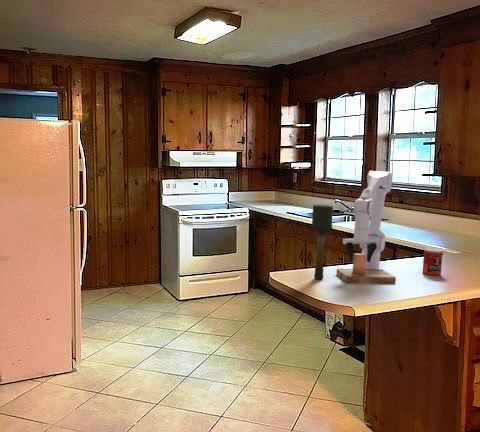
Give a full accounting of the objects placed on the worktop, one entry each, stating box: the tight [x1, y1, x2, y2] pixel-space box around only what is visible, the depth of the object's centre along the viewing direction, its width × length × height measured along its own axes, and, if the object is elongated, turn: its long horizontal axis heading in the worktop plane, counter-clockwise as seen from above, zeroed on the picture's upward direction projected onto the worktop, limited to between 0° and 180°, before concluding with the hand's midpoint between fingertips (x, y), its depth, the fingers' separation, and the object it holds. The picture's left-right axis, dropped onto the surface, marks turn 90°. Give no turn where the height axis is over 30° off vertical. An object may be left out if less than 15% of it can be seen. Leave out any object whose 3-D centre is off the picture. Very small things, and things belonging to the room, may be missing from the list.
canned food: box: [422, 247, 444, 277], centre depth 230 cm, size 8×8×11 cm
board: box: [336, 268, 397, 284], centre depth 216 cm, size 14×20×2 cm
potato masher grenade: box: [310, 204, 334, 281], centre depth 211 cm, size 8×9×30 cm
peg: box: [352, 252, 366, 274], centre depth 215 cm, size 5×5×10 cm
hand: (359, 261), depth 215 cm, fingers open, 7 cm apart
